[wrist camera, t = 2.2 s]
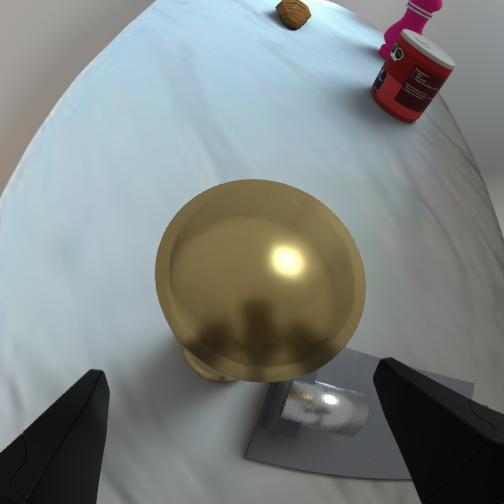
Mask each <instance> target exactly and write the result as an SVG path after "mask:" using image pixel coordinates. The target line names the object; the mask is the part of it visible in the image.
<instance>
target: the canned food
mask: <svg viewBox="0 0 504 504" xmlns="http://www.w3.org/2000/svg"><path fill="white" fill-rule="evenodd" d="M454 67H455V63H454V62H453V60H452V59H451V58H450V57H449V56H448V55H447V54H446V53H445V52H444V51H443V50H442V49H440V48H439V47H438V46H437V45H435V44H434V43H433V42H431V41H430V40H428V39H426V38H425V37H423V36H421V35H420V34H418V33H416V32H413V31H411V30H408V29H403V30H402V32H401V33H400V35H399V37H398V38H397V40H396V42H395V44H394V46H393V48H392V50H391V52H390V53H389V55H388V57H387V59H386V61H385V63H384V65H383V67H382V68H381V70H380V72H379V74H378V76H377V78H376V80H375V81H374V83H373V86H372V95H373V97H374V99H375V100H376V101H377V103H378V104H379V105H380V106H381V107H382V108H383V109H384V110H386V111H387V112H388V113H390V114H391V115H393V116H394V117H396V118H398V119H400V120H403V121H406V122H414V121H415V120H417V119H418V118H419V117H420V116H421V115H422V113H423V112H424V110H425V109H426V108H427V106H428V105H429V104H430V102H431V101H432V99H433V98H434V97H435V95H436V94H437V92H438V91H439V89H440V88H441V87H442V85H443V84H444V82H445V81H446V80H447V78H448V77H449V75H450V73H451V72H452V70H453V68H454Z"/></svg>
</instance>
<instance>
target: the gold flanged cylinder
mask: <svg viewBox="0 0 504 504" xmlns="http://www.w3.org/2000/svg"><path fill="white" fill-rule="evenodd" d="M155 281H156V290H157V295H158V299H159V303H160V306H161V308H162V311H163V314H164V316H165V318H166V320H167V322H168V325H169V326H170V328H171V330H172V332H173V333H174V335H175V337H176V338H177V340H178V341H179V342H180V344H181V345H182V349H183V352H184V355H185V357H186V360H187V361H188V363H189V364H190V366H191V367H192V368H193V369H194V370H195V371H196V372H197V373H199V374H200V375H201V376H203V377H205V378H208V379H210V380H214V381H233V380H236V379H237V380H242V381H248V382H277V381H286V380H290V379H295V378H299V377H301V376H304V375H307V374H309V373H312V372H314V371H315V370H317V369H319V368H321V367H322V366H324V365H326V364H327V363H328V362H329V361H331V360H332V359H333V358H334V357H336V356H337V355H338V354H339V352H340V351H341V350H342V349H343V348H344V347H345V346H346V344H347V343H348V342H349V340H350V339H351V337H352V336H353V334H354V332H355V330H356V328H357V326H358V324H359V321H360V318H361V315H362V312H363V307H364V302H365V292H366V283H365V273H364V268H363V263H362V259H361V256H360V253H359V250H358V248H357V246H356V244H355V242H354V240H353V238H352V236H351V235H350V233H349V231H348V230H347V228H346V227H345V226H344V224H343V223H342V222H341V220H340V219H339V218H338V217H337V216H336V215H335V214H334V213H333V212H332V211H331V210H330V209H329V208H328V207H326V206H325V205H324V204H323V203H321V202H320V201H319V200H317V199H316V198H314V197H313V196H311V195H309V194H307V193H305V192H304V191H302V190H299V189H297V188H295V187H292V186H289V185H286V184H283V183H279V182H274V181H268V180H257V179H250V180H238V181H232V182H227V183H224V184H220V185H217V186H215V187H212V188H210V189H208V190H206V191H204V192H202V193H201V194H199V195H197V196H196V197H194V198H193V199H192V200H190V201H189V202H188V203H187V204H185V205H184V206H183V207H182V208H181V209H180V211H179V212H178V213H177V214H176V215H175V216H174V218H173V219H172V221H171V222H170V223H169V225H168V227H167V229H166V231H165V232H164V234H163V237H162V239H161V242H160V245H159V248H158V253H157V257H156V266H155Z"/></svg>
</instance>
